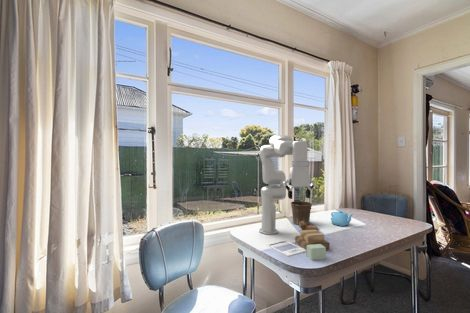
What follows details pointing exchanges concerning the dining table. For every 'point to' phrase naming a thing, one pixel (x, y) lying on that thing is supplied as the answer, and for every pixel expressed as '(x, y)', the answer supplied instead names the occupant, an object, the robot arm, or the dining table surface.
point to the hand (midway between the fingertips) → (299, 198)
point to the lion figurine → (306, 226)
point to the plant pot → (301, 211)
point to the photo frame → (289, 252)
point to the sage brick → (316, 251)
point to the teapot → (340, 218)
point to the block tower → (311, 239)
